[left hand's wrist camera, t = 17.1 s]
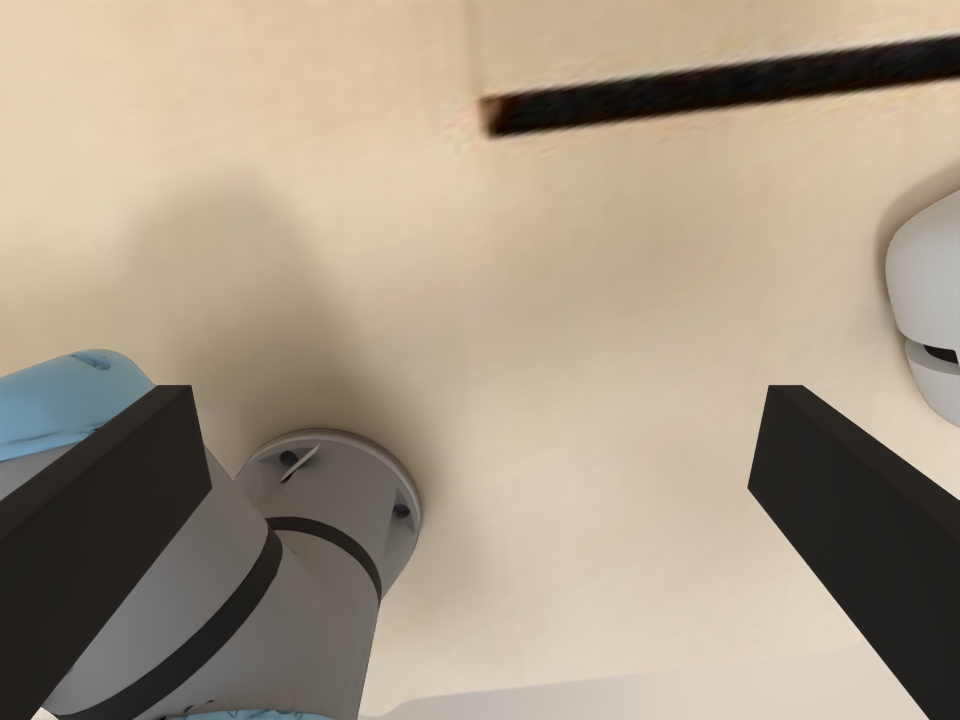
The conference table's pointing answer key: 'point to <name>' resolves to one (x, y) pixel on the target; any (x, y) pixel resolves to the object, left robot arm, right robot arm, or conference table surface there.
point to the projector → (930, 301)
